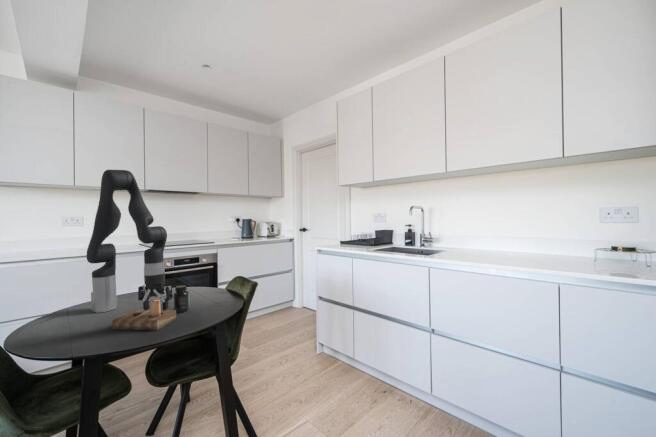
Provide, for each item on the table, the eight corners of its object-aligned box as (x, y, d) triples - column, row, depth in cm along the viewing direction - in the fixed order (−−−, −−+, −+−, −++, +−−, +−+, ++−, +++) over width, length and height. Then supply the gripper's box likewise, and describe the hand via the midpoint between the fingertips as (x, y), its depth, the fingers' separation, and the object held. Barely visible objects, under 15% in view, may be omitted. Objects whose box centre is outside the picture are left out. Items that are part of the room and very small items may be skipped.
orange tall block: (149, 323, 118) (148, 302, 118) (155, 319, 122) (154, 299, 122) (157, 323, 118) (156, 302, 118) (162, 320, 122) (161, 299, 121)
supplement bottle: (192, 308, 139) (191, 284, 139) (184, 313, 132) (183, 288, 132) (179, 308, 140) (178, 284, 139) (170, 313, 133) (169, 288, 133)
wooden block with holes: (112, 329, 116) (112, 319, 116) (135, 318, 128) (135, 309, 127) (157, 330, 114) (157, 320, 114) (176, 318, 126) (175, 309, 125)
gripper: (132, 274, 117) (133, 312, 117) (163, 274, 115) (165, 313, 116) (145, 270, 124) (147, 306, 124) (175, 270, 123) (177, 307, 123)
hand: (156, 309), depth 120 cm, fingers open, 8 cm apart
